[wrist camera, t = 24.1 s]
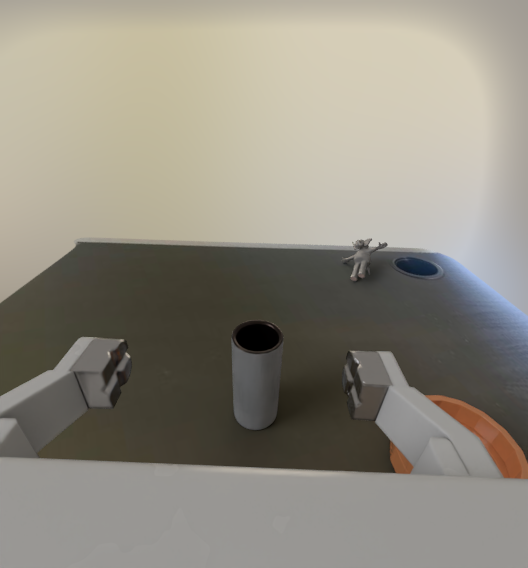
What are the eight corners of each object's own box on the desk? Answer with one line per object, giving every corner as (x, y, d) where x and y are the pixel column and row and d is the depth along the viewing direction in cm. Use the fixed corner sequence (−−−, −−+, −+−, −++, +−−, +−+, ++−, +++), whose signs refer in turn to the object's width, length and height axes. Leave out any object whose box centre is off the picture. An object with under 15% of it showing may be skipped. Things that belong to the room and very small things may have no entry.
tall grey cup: (231, 429, 30) (228, 352, 24) (236, 391, 34) (234, 318, 28) (277, 432, 30) (284, 355, 24) (277, 393, 33) (283, 320, 28)
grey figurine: (325, 276, 57) (335, 244, 62) (344, 295, 59) (352, 262, 65) (372, 258, 50) (379, 224, 55) (392, 280, 52) (397, 245, 57)
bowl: (522, 556, 22) (555, 529, 20) (389, 507, 24) (404, 478, 22) (486, 441, 29) (507, 412, 27) (387, 413, 32) (398, 383, 29)
